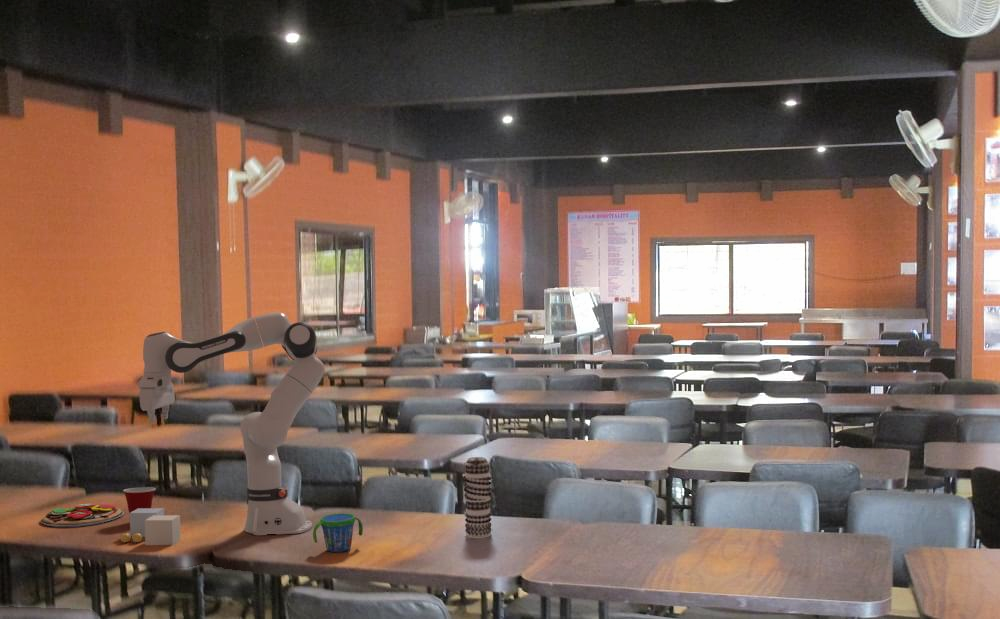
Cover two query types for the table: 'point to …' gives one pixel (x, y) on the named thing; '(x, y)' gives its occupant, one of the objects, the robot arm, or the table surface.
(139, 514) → the white block
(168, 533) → the grey cuboid box
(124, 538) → the amber marble
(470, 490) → the decorative candle
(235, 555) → the table surface
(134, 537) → the amber marble
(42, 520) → the toy pizza
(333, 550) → the snack cup
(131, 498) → the plastic cup
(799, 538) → the table surface
